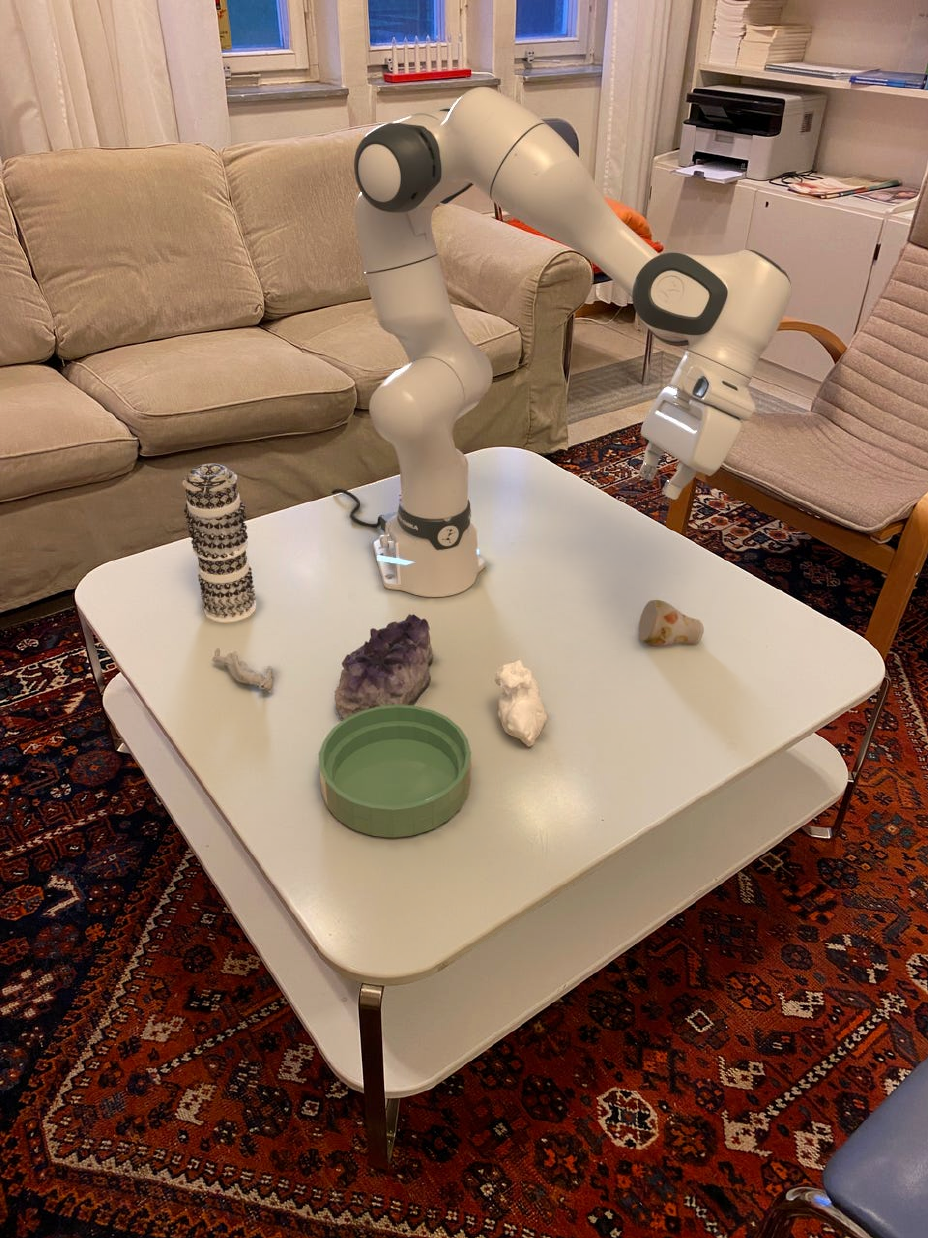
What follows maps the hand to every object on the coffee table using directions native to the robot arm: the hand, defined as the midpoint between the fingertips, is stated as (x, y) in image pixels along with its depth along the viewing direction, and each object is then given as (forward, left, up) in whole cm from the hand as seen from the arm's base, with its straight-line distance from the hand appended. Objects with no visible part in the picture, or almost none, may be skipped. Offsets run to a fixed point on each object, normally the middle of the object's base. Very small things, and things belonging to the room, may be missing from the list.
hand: (656, 487), depth 123 cm
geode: (-13, -33, -33) cm, 48 cm away
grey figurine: (-23, -52, -33) cm, 66 cm away
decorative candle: (-43, -50, -33) cm, 74 cm away
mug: (-7, +12, -33) cm, 35 cm away
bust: (+2, -19, -33) cm, 38 cm away
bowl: (+6, -39, -33) cm, 51 cm away
